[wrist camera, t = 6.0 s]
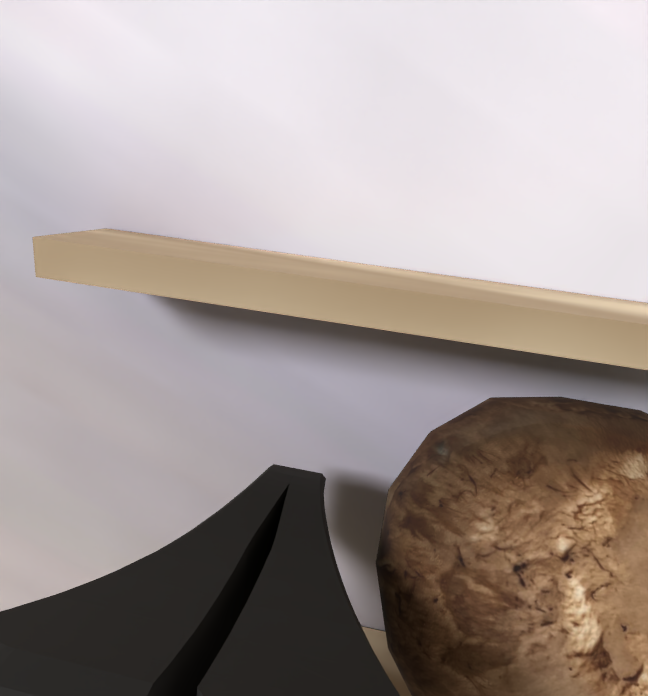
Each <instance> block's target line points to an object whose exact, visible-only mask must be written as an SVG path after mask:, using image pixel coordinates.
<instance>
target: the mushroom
mask: <svg viewBox="0 0 648 696" xmlns="http://www.w3.org/2000/svg"><path fill="white" fill-rule="evenodd" d="M376 567H377V574H378V581H379V588H380V595H381V602H382V610H383V617H384V624H385V631H386V638H387V645H388V650H389V652H390V654H391V656H392V658H393V660H394V662H395V664H396V666H397V668H398V670H399V672H400V674H401V676H402V678H403V680H404V682H405V684H406V686H407V688H408V690H409V691H410V693H411V695H412V696H648V414H647V413H645V412H643V411H641V410H635V409H628V408H622V407H616V406H610V405H604V404H599V403H593V402H587V401H582V400H576V399H570V398H564V397H499V398H489V399H487V400H486V401H484V402H482V403H480V404H479V405H477V406H475V407H473V408H471V409H470V410H468V411H466V412H464V413H463V414H461V415H459V416H457V417H456V418H454V419H452V420H450V421H448V422H447V423H445V424H443V425H441V426H440V427H438V428H436V429H434V430H433V431H431V432H430V433H429V434H428V435H427V437H426V438H425V440H424V441H423V442H422V444H421V445H420V446H419V448H418V449H417V451H416V452H415V453H414V455H413V456H412V458H411V459H410V460H409V462H408V463H407V464H406V466H405V467H404V469H403V470H402V471H401V473H400V474H399V476H398V477H397V478H396V480H395V481H394V483H393V484H392V485H391V487H390V488H389V490H388V496H387V501H386V507H385V513H384V519H383V524H382V530H381V536H380V542H379V547H378V553H377V559H376Z"/></svg>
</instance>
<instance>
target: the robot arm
mask: <svg viewBox="0 0 648 696" xmlns="http://www.w3.org/2000/svg"><path fill="white" fill-rule="evenodd" d="M325 480H326V478H325V477H324V476H323V474H321V473H316V472H311V471H306V470H301V469H295V468H290V467H285V466H280V465H275V464H274V465H272V466H271V467H269V468H268V469H267V470H266V471H265V472H264V473H263V474H261V475H260V476H259V477H258V478H257V479H256V480H255V481H254V482H253V483H252V484H250V485H249V486H248V487H247V488H246V489H245V490H244V491H242V492H241V493H240V494H239V495H238V496H236V497H235V498H234V499H233V500H231V501H230V502H229V503H228V504H226V505H225V506H224V507H223V508H221V509H220V510H219V511H217V512H216V513H215V514H213V515H212V516H211V517H209V518H208V519H206V520H205V521H204V522H202V523H201V524H199V525H198V526H197V527H195V528H194V529H192V530H191V531H189V532H188V533H186V534H185V535H183V536H181V537H180V538H178V539H177V540H175V541H173V542H172V543H170V544H168V545H167V546H165V547H163V548H161V549H160V550H158V551H156V552H154V553H152V554H150V555H148V556H146V557H144V558H142V559H140V560H138V561H136V562H134V563H132V564H130V565H127V566H125V567H123V568H121V569H119V570H117V571H115V572H113V573H110V574H108V575H106V576H103V577H101V578H98V579H96V580H94V581H91V582H88V583H86V584H83V585H81V586H78V587H75V588H73V589H70V590H67V591H65V592H62V593H59V594H56V595H53V596H50V597H47V598H44V599H40V600H37V601H34V602H31V603H28V604H24V605H21V606H18V607H15V608H12V609H8V610H5V611H1V612H0V696H400V695H399V693H398V691H397V690H396V688H395V687H394V685H393V683H392V682H391V680H390V679H389V677H388V675H387V674H386V672H385V670H384V668H383V667H382V665H381V663H380V661H379V660H378V658H377V656H376V654H375V653H374V651H373V649H372V647H371V645H370V643H369V641H368V639H367V637H366V635H365V633H364V631H363V629H362V627H361V625H360V623H359V621H358V619H357V617H356V615H355V612H354V610H353V607H352V605H351V603H350V600H349V598H348V595H347V593H346V590H345V587H344V585H343V582H342V579H341V576H340V573H339V570H338V567H337V564H336V560H335V557H334V553H333V549H332V546H331V541H330V537H329V532H328V527H327V521H326V515H325V507H324V487H325Z"/></svg>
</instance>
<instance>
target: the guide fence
mask: <svg viewBox="0 0 648 696" xmlns="http://www.w3.org/2000/svg"><path fill="white" fill-rule="evenodd" d="M33 248H34V260H35V272H36V277H40V278H46V279H53V280H59V281H66V282H72V283H79V284H85V285H92V286H99V287H105V288H112V289H118V290H125V291H131V292H138V293H145V294H151V295H158V296H164V297H171V298H177V299H184V300H190V301H197V302H204V303H210V304H217V305H223V306H230V307H236V308H243V309H249V310H256V311H263V312H269V313H276V314H282V315H289V316H295V317H302V318H308V319H315V320H322V321H328V322H335V323H341V324H348V325H354V326H361V327H368V328H374V329H381V330H387V331H394V332H400V333H407V334H413V335H420V336H427V337H433V338H440V339H446V340H453V341H459V342H466V343H472V344H479V345H486V346H492V347H499V348H505V349H512V350H518V351H525V352H531V353H538V354H545V355H551V356H558V357H564V358H571V359H577V360H584V361H591V362H597V363H604V364H610V365H617V366H623V367H630V368H636V369H643V370H648V303H643V302H636V301H629V300H621V299H614V298H607V297H600V296H592V295H585V294H578V293H571V292H563V291H556V290H549V289H542V288H534V287H527V286H520V285H513V284H505V283H498V282H491V281H484V280H476V279H469V278H462V277H455V276H447V275H440V274H433V273H426V272H418V271H411V270H404V269H397V268H389V267H382V266H375V265H367V264H360V263H353V262H346V261H338V260H331V259H324V258H317V257H309V256H302V255H295V254H288V253H280V252H273V251H266V250H259V249H251V248H244V247H237V246H230V245H222V244H215V243H208V242H201V241H193V240H186V239H179V238H172V237H164V236H157V235H150V234H143V233H135V232H128V231H121V230H114V229H98V230H89V231H80V232H72V233H63V234H54V235H46V236H37V237H33ZM361 627H362V626H361ZM362 629H363V631H364V633H365V635H366V637H367V639H368V641H369V643H370V645H371V647H372V649H373V651H374V653H375V654H376V656H377V658H378V660H379V661H380V663H381V665H382V667H383V668H384V670H385V672H386V674H387V675H388V677H389V679H390V680H391V682H392V683H393V685H394V687H395V688H396V690H397V691H398V693H399V695H400V696H412V695H411V693H410V691H409V690H408V688H407V686H406V684H405V682H404V680H403V678H402V676H401V674H400V672H399V670H398V668H397V666H396V664H395V662H394V660H393V658H392V656H391V654H390V652H389V650H388V645H387V638H386V632H384V631H380V630H375V629H371V628H366V627H362Z"/></svg>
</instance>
